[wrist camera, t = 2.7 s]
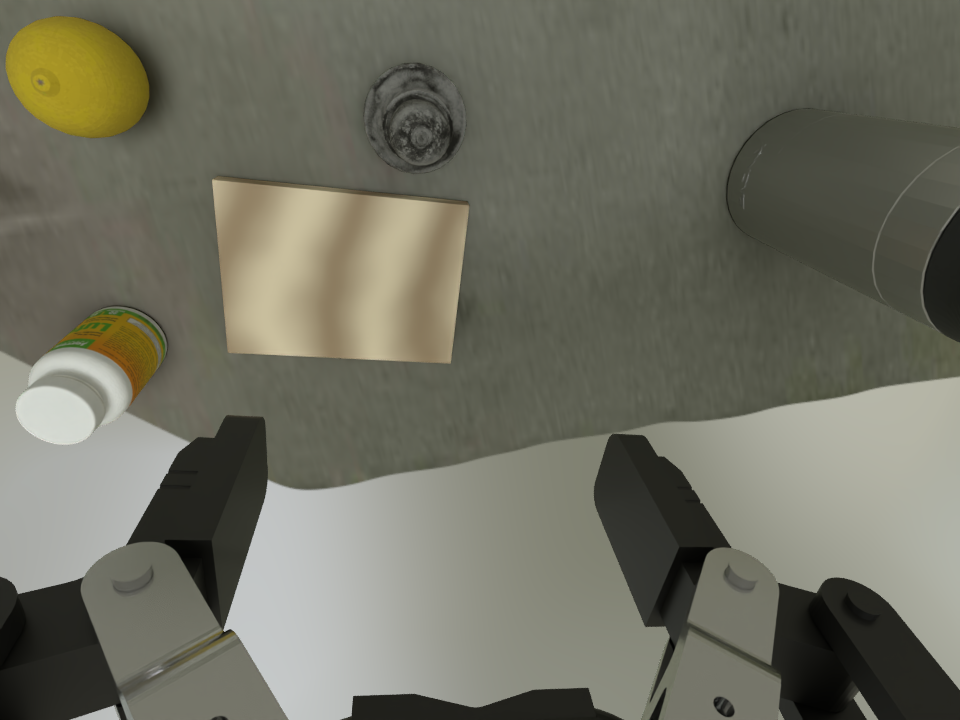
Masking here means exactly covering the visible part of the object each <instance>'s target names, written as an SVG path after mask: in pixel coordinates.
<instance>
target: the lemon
mask: <svg viewBox="0 0 960 720" xmlns="http://www.w3.org/2000/svg"><path fill="white" fill-rule="evenodd" d="M6 71H7V75H8V79H9V82H10V85H11V87H12V89H13V91H14V93H15V95H16V96H17V98H18V99H19V100H20V102H21V103H22V104H23V106H24V107H25V108H26V109H27V110H28V111H29V112H31V113H32V114H33V115H34V116H35V117H36V118H37V119H39V120H41V121H42V122H44V123H45V124H47V125H49V126H50V127H52V128H54V129H57V130H59V131H62V132H64V133H67V134H70V135H75V136H81V137H87V138H101V137H111V136H114V135H117V134H119V133H122V132H125V131H127V130H128V129H130V128H131V127H132V126H133V125H135V124H136V123H137V122H138V121H139V120H140V118H141V117H142V115H143V114H144V112H145V111H146V108H147V104H148V100H149V83H148V79H147V75H146V72H145V69H144V67H143V65H142V63H141V61H140V59H139V58H138V57H137V55H136V54H135V53H134V51H133V50H132V49H131V47H130V46H129V45H127V44H126V43H125V42H124V41H123V40H122V39H121V38H120V37H118V36H117V35H116V34H114V33H113V32H111V31H109V30H108V29H106V28H104V27H103V26H101V25H99V24H96V23H93V22H90V21H87V20H84V19H81V18H76V17H63V16H56V17H50V18H45V19H41V20H37V21H35V22H33V23H31V24H29V25H28V26H26V27H24V28H23V29H21V30H20V31H19V32H18V33H17V34H16V36H15V37H14V38H13V39H12V41H11V43H10V45H9V48H8V51H7V54H6Z"/></svg>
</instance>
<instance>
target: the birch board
mask: <svg viewBox="0 0 960 720" xmlns="http://www.w3.org/2000/svg"><path fill="white" fill-rule="evenodd" d="M212 183H213V194H214V205H215V216H216V227H217V237H218V248H219V259H220V270H221V281H222V292H223V303H224V314H225V325H226V336H227V347H228V353H246V354H267V355H287V356H308V357H328V358H349V359H369V360H390V361H410V362H431V363H451V356H452V347H453V339H454V330H455V322H456V313H457V305H458V297H459V288H460V280H461V271H462V263H463V254H464V246H465V238H466V229H467V221H468V212H469V204H468V202H467V201H457V200H448V199H438V198H428V197H418V196H408V195H398V194H389V193H379V192H369V191H359V190H349V189H340V188H330V187H320V186H310V185H300V184H290V183H281V182H271V181H261V180H251V179H241V178H232V177H222V176H217V177H216V178H214V179H213V180H212Z"/></svg>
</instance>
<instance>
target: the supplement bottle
mask: <svg viewBox="0 0 960 720" xmlns="http://www.w3.org/2000/svg"><path fill="white" fill-rule="evenodd" d="M166 352H167V342H166V338H165V335H164V333H163V332H162V330H161V328H160V327H159V326H158V325H157V323H156V322H155V321H153V320H152V319H151V318H150V317H148V316H147V315H145V314H143V313H142V312H139V311H137V310H135V309H131V308H127V307H119V306H115V307H107V308H103V309H101V310H98V311H96V312H95V313H93V314H92V315H90V316H89V317H88V318H87V319H85V320H84V321H83V322H82V323H81V324H80V325H78V326H77V327H76V328H75V329H74V330H72V331H71V332H70V333H69V334H68V335H67V336H65V337H64V338H63V339H62V340H61V341H60V342H59V343H57V344H56V345H55V346H54V347H53V348H52V349H50V350H49V351H48V352H47V353H46V354H45V355H43V356H42V357H41V358H40V359H39V360H38V361H37V362H36V363H35V365H34V366H33V367H32V370H31V371H30V374H29V379H28V388H27V389H26V390H25V391H24V392H23V393H22V394H21V395H20V397H19V398H18V400H17V402H16V409H15V410H16V415H17V418H18V420H19V422H20V423H21V425H22V426H23V427H24V428H25V429H26V430H27V431H28V432H29V433H30V434H32V435H33V436H35V437H37V438H39V439H41V440H43V441H47V442H49V443H54V444H61V445H68V444H75V443H79V442H81V441H83V440H85V439H87V438H88V437H89V436H90V435H91V434H92V433H93V432H94V431H95V430H96V429H97V428H98V427H100V426H104V425H106V424H109V423H111V422H113V421H114V420H116V419H117V418H119V417H120V416H121V415H122V414H123V413H124V412H125V411H126V410H127V409H128V407H129V406H130V405H131V403H132V402H133V401H134V399H135V398H136V397H137V395H138V394H139V393H140V391H141V390H142V389H143V387H144V386H145V385H146V383H147V382H148V381H149V379H150V378H151V377H152V376H153V374H154V373H155V372H156V370H157V369H158V368H159V366H160V365H161V363H162V362H163V360H164V358H165V356H166Z"/></svg>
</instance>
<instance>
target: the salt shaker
mask: <svg viewBox="0 0 960 720" xmlns="http://www.w3.org/2000/svg"><path fill="white" fill-rule="evenodd" d="M363 116H364V124H365V131H366V134H367V136H368V139H369V142H370V144H371V146H372V147H373V148H374V150H375V151H376V153H377V154H378V156H379V157H381V158H382V159H383V160H384V161H385V162H386V163H387V164H388V165H390V166H392V167H394V168H396V169H398V170H400V171H404V172H408V173H413V174H415V173H427V172H430V171H433V170H436V169H439V168H440V167H442V166H443V165H445V164H446V163H448V162H449V161H450V160H451V159H452V157H453V156H454V155H455V154H456V153H457V152H458V150H459V148H460V145H461V143H462V141H463V139H464V134H465V130H466V110H465V107H464V103H463V99H462V97H461V95H460V93H459V91H458V90H457V88H456V86H455V84H454V83H453V82H452V81H451V80H450V79H449V78H448V77H447V76H446V75H445V74H444V73H442V72H440V71H439V70H437V69H435V68H434V67H432V66H428V65H424V64H420V63H404V64H401V65H398V66H395V67H392V68H390V69H389V70H387V71H386V72H385V73H383V74H382V75H380V76H379V78H378V79H377V80H376V81H375V83H374V84H373V85H372V87H371V88H370V91H369V93H368V96H367V98H366V101H365V107H364V115H363Z"/></svg>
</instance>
